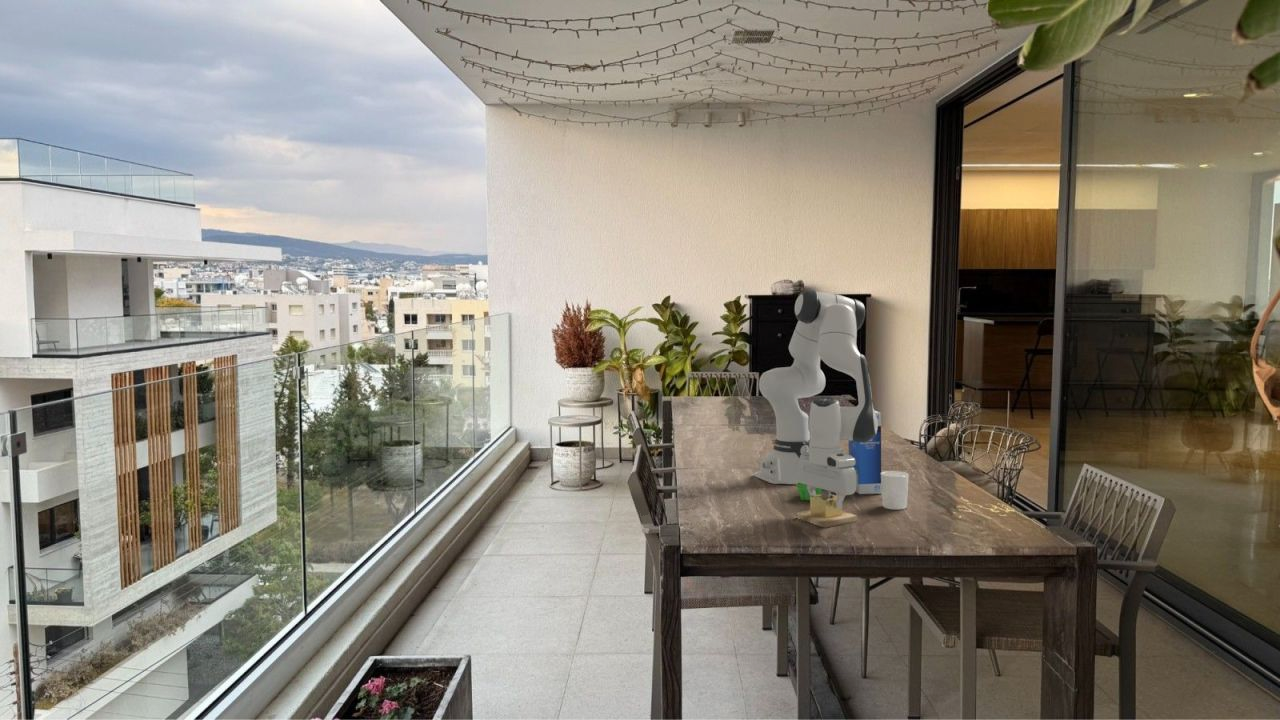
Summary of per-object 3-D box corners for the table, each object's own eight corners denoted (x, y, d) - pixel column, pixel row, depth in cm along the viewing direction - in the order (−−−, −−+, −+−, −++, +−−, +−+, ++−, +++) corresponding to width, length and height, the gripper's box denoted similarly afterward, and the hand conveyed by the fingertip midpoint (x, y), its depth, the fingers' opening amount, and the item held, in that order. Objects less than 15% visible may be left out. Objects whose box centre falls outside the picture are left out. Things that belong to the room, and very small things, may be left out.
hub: (810, 513, 235) (810, 496, 235) (826, 510, 239) (826, 493, 238) (825, 518, 230) (825, 500, 230) (842, 514, 233) (842, 497, 233)
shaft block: (795, 518, 236) (795, 488, 236) (827, 512, 242) (827, 483, 242) (825, 527, 226) (824, 496, 226) (857, 520, 232) (857, 490, 232)
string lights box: (882, 494, 263) (882, 412, 261) (858, 494, 262) (857, 413, 261) (870, 485, 276) (870, 407, 274) (847, 485, 276) (847, 408, 274)
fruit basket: (807, 492, 267) (807, 457, 266) (835, 495, 263) (834, 460, 262) (795, 500, 257) (794, 464, 257) (823, 503, 253) (822, 466, 252)
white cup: (890, 511, 242) (890, 477, 241) (875, 505, 249) (875, 472, 249) (914, 509, 244) (914, 475, 243) (898, 502, 251) (898, 470, 251)
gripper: (792, 451, 240) (792, 499, 241) (842, 463, 223) (843, 513, 224) (808, 449, 244) (809, 496, 245) (860, 460, 226) (860, 510, 227)
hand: (825, 504), depth 234 cm, fingers open, 8 cm apart
